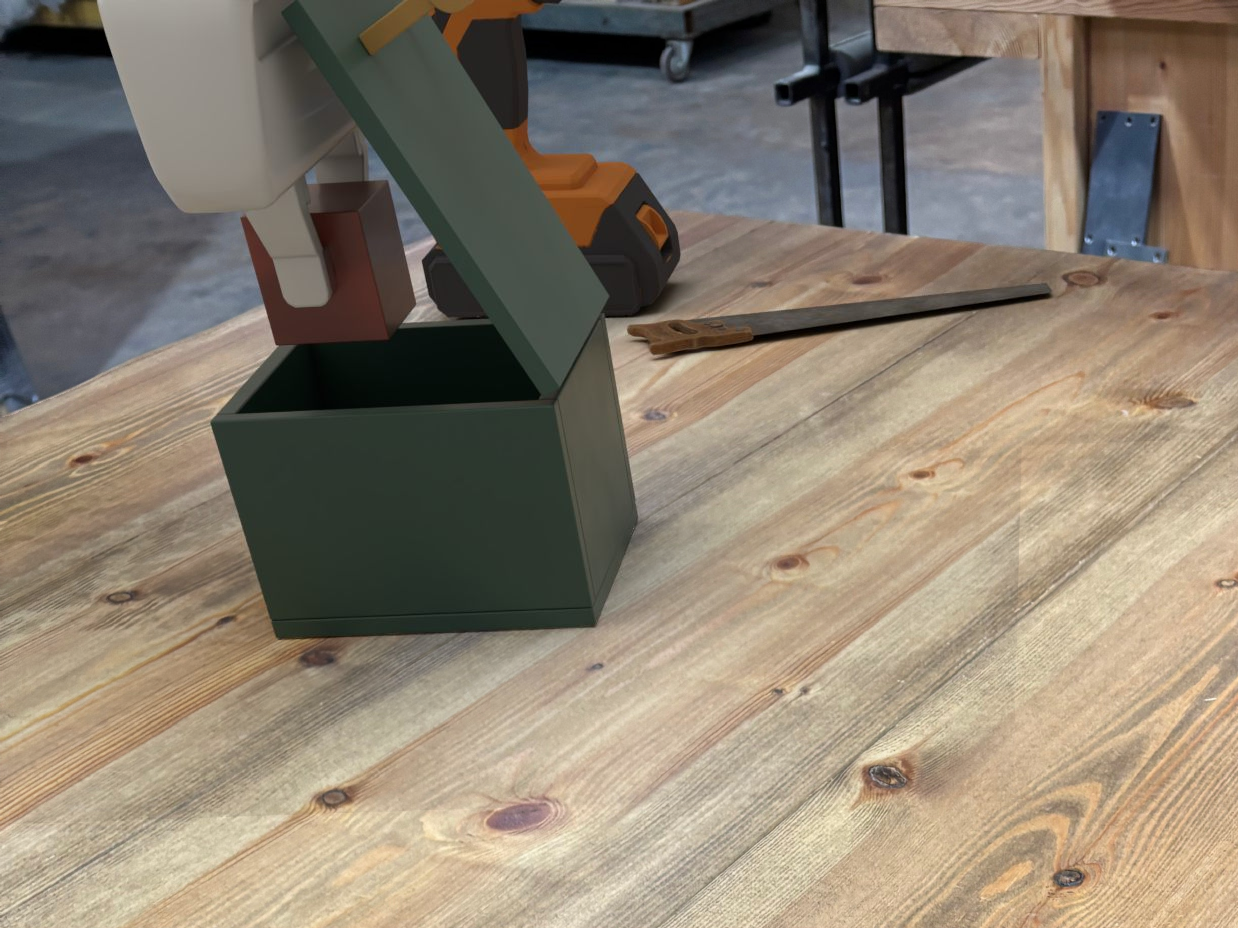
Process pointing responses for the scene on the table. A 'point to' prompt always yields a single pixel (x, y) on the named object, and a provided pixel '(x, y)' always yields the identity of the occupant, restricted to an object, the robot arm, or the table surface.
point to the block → (344, 269)
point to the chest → (428, 484)
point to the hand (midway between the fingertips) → (334, 279)
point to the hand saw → (806, 318)
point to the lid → (457, 172)
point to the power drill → (556, 174)
